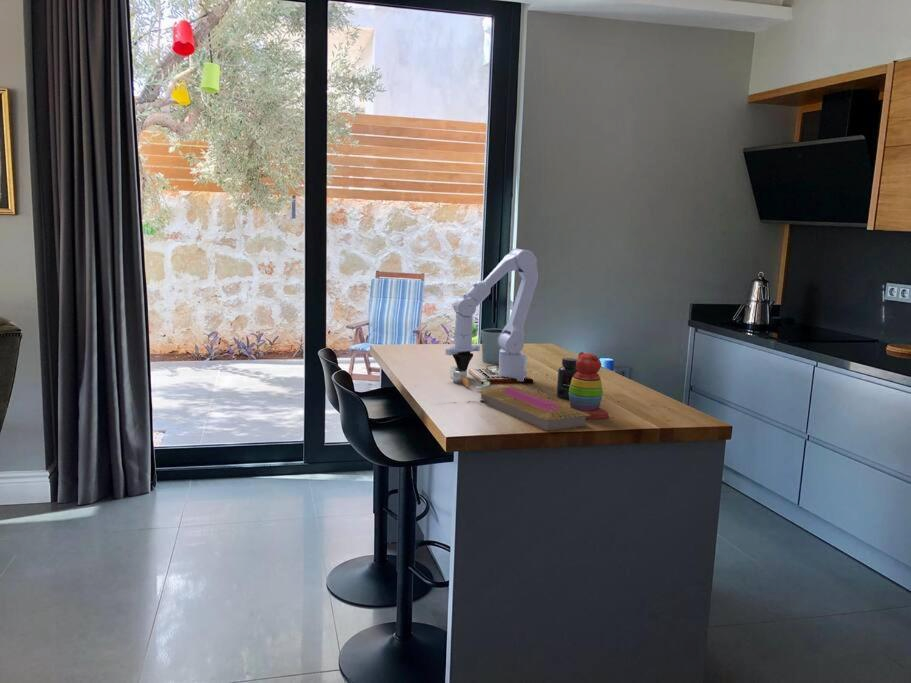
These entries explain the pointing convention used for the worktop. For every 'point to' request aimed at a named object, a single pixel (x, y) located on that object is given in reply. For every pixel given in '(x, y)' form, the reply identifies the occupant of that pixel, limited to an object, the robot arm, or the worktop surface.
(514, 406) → the rafter model
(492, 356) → the grey cylinder
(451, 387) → the worktop surface
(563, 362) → the supplement bottle
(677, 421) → the worktop surface
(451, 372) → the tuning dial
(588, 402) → the stacking bear
